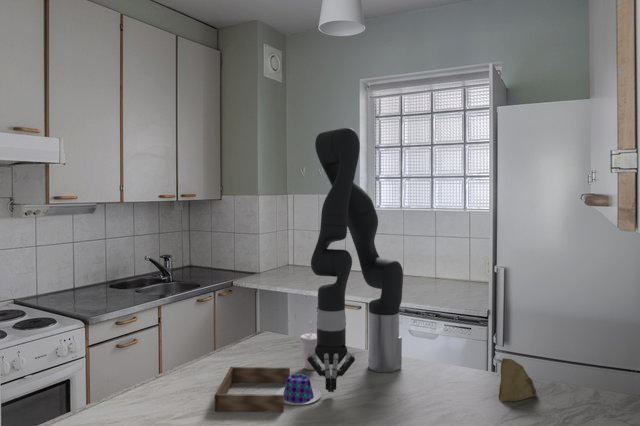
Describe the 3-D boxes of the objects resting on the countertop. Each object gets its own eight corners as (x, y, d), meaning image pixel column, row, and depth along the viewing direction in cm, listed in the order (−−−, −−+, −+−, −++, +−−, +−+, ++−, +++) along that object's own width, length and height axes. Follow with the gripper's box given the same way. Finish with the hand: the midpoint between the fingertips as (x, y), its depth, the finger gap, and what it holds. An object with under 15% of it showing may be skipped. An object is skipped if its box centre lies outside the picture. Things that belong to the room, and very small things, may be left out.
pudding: (326, 390, 129) (326, 371, 129) (313, 410, 118) (313, 389, 117) (284, 385, 132) (284, 366, 132) (268, 404, 121) (268, 383, 121)
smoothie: (322, 364, 148) (322, 319, 147) (320, 371, 141) (320, 325, 141) (302, 363, 148) (302, 318, 148) (299, 371, 142) (299, 324, 141)
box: (289, 381, 134) (289, 367, 134) (283, 412, 116) (283, 396, 116) (230, 380, 135) (230, 366, 135) (214, 411, 116) (214, 395, 116)
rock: (535, 381, 129) (497, 372, 132) (543, 363, 124) (502, 354, 127) (536, 418, 122) (495, 408, 125) (544, 402, 116) (501, 391, 119)
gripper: (355, 321, 127) (355, 385, 128) (306, 321, 127) (306, 384, 128) (357, 329, 120) (357, 397, 121) (305, 329, 120) (305, 397, 121)
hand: (330, 390), depth 125 cm, fingers closed
